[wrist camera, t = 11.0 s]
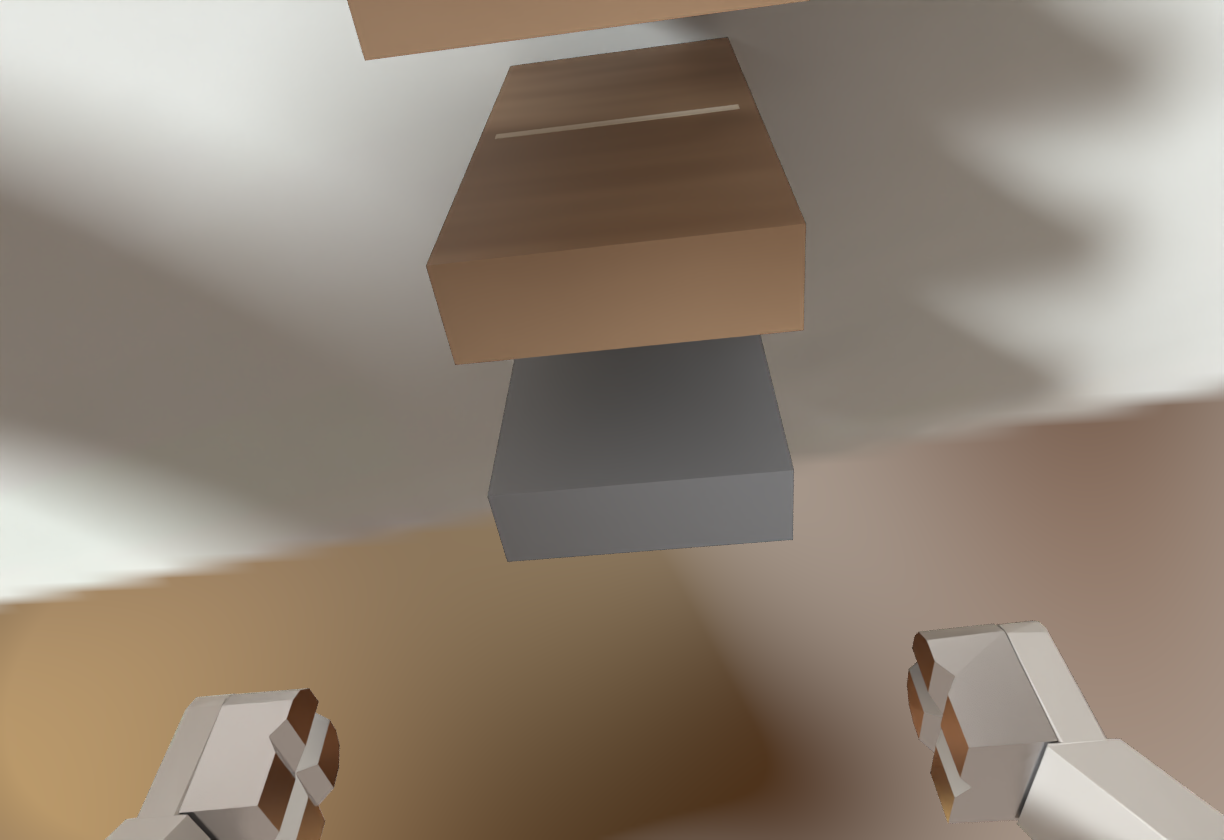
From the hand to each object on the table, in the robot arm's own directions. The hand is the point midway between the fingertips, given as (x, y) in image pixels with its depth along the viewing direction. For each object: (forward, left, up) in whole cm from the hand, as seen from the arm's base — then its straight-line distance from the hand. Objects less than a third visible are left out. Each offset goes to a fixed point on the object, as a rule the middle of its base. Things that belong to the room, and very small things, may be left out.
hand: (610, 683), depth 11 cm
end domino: (0, 0, -13) cm, 13 cm away
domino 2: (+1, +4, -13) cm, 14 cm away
